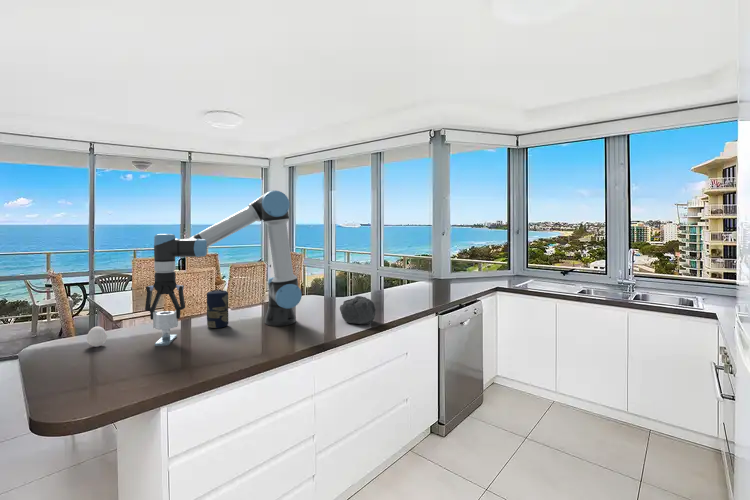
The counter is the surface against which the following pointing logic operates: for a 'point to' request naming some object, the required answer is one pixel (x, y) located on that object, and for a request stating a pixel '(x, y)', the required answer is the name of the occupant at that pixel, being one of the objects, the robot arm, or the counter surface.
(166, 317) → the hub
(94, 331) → the egg
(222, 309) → the canister
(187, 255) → the robot arm
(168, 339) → the shaft stand
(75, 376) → the counter surface
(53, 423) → the counter surface
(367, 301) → the rock
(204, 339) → the counter surface
